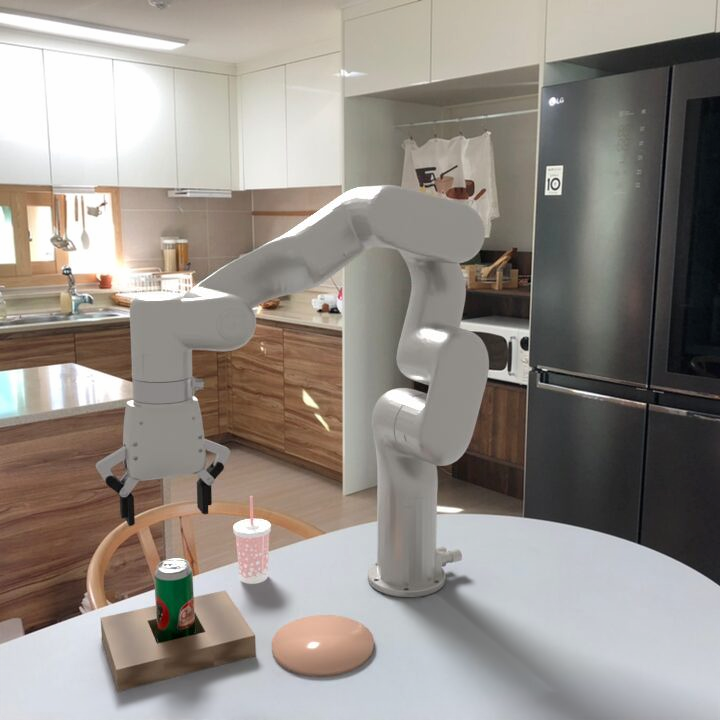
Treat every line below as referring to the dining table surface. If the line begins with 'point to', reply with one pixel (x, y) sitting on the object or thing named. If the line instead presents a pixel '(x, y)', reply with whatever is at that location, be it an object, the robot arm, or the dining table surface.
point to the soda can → (174, 600)
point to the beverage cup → (252, 548)
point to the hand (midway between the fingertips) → (167, 516)
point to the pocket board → (175, 642)
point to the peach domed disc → (322, 645)
